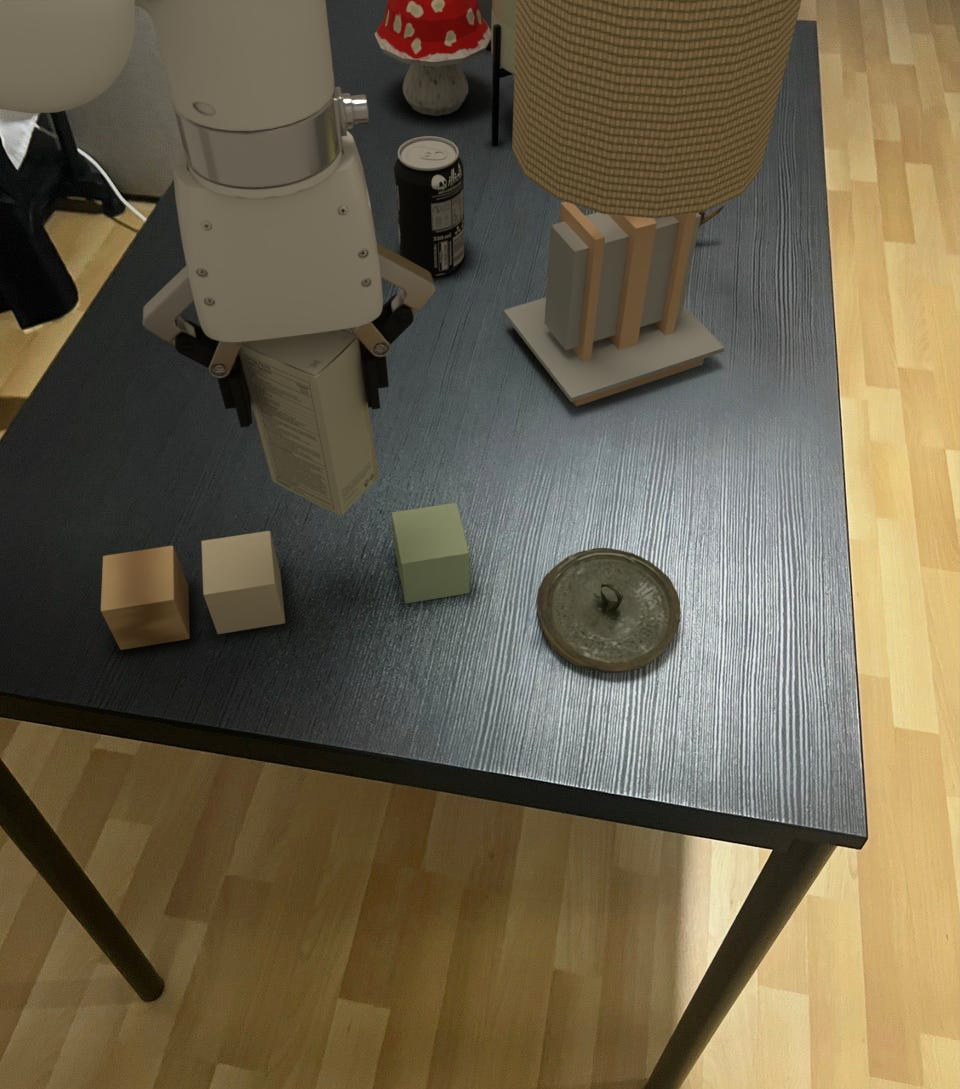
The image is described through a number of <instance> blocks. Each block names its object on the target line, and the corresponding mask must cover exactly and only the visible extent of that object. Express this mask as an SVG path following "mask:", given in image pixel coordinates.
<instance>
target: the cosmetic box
mask: <svg viewBox="0 0 960 1089" xmlns="http://www.w3.org/2000/svg"><path fill="white" fill-rule="evenodd" d="M238 354H239V357H240V360H241V365H242V368H243V372H244V376H245V380H246V384H247V388H248V391H249V395H250V400H251V408H252V410H253V415H254V417H255V421H256V426H257V430H258V433H259V436H260V441H261V444H262V448H263V451H264V456H265V460H266V463H267V466H268V470H269V474H270V477H271V481H272V482H273V483H274V484H276V485H278V486H280V487H282V488H283V489H285V490H287V491H290V492H291V493H293V494H295V495H297V496H298V497H301V498H303V499H305V500H307V501H309V502H310V503H313V504H315V505H316V506H319V507H321V508H323V509H325V510H327V511H329V512H332V513H334V514H335V515H337V516H340V517H341V516H343V515H345V514H346V512H347V511H349V509H350V508H351V507H352V506H353V505H354V504H355V503H357V501H358V500H359V499H360V498H361V497H362V496H363V494H365V492H366V491H367V490H368V489H370V487H371V486H372V485H373V484H374V482H375V481H377V479H378V477H379V473H378V472H379V471H378V465H377V458H376V451H375V444H374V437H373V430H372V423H371V416H370V408H368V403H367V396H366V388H365V380H364V373H363V366H362V359H361V353H360V346H359V339H358V337H357V336H356V335H355V334H354V333H353V332H352V331H349V330H347V329H341V330H334V331H327V332H320V333H312V334H305V335H297V336H289V337H281V338H273V339H264V340H255V341H246V342H243V343H242V345H241V348H240V350H239V352H238Z"/></svg>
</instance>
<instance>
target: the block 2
mask: <svg viewBox="0 0 960 1089" xmlns="http://www.w3.org/2000/svg"><path fill="white" fill-rule="evenodd" d="M200 543H201V568H202V571H201V572H202V591H203V592H202V593H203V594H202V596H203V598H204V601H205V603H206V606H207V609H208V612H209V615H210V617H211V620H212V622H213V626H214V628H215V631H216V634H217V635H222V634H228V633H236V632H240V631H246V630H253V629H260V628H265V627H271V626H277V625H278V626H279V625H283V624H286V616H285V608H284V606H285V604H284V596H283V586H282V584H283V583H282V577H281V576H282V574H281V568H280V565H279V561H278V558H277V556H278V555H277V553H276V549H275V545H274V541H273V537H272V533H271V530H265V531H258V532H251V533H245V534H239V535H238V534H237V535H232V536H225V537H218V538H212V539H205V540H201V542H200Z"/></svg>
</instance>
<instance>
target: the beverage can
mask: <svg viewBox="0 0 960 1089" xmlns="http://www.w3.org/2000/svg"><path fill="white" fill-rule="evenodd" d="M459 154H460V152H459V148H458V146H457V144H455V143H454V142H453V141H452V140H449V139H447V138H444V137H440V136H433V135H432V136H431V135H427V136H425V135H424V136H418V137H413V138H411V139H409V140H407V141H405V142H403V143H402V144H401V145H400V146H399V148H398V150H397V159H396V160H395V162H394V166H393V170H394V171H393V172H394V186H395V187H394V188H395V196H396V197H395V200H396V214H397V216H396V217H397V229H398V244H399V255H400V256H402V257H404V258H406V259H407V260H409V261H411V262H413V263H415V264H416V265H418V266H420V267H422V268H424V269H425V270H427V271H429V272H430V273H431V275H432V277H439V276H443V275H447V274H449V273H451V272H453V271H455V269H457V267H458V266H459V265H460V264H461V263H462V262H463V260H464V257H465V194H464V193H465V191H464V190H465V187H464V186H465V185H464V184H465V182H464V178H465V177H464V164H463V160H462V159H461V158H460V156H459Z"/></svg>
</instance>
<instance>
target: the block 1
mask: <svg viewBox="0 0 960 1089" xmlns="http://www.w3.org/2000/svg"><path fill="white" fill-rule="evenodd" d="M101 570H102V571H101V591H100V592H101V594H100V595H101V596H100V613H101V614H102V616H103V618H104V620H105V623H106V624H107V626H108V628H109V630H110V632H111V635H113V638H114V640H115V642H116V644H117V646H118V647H119V650H120V651H123V650H130V649H137V648H142V647H148V646H154V645H161V644H166V643H172V642H178V641H185V640H189V639H191V638H190V637H191V636H190V635H191V634H190V631H191V630H190V597H189V596H190V595H189V591H190V590H189V584H188V581H187V579H186V575H185V573H184V571H183V568H182V565H181V562H180V560H179V557H178V554H177V552H176V549H175V546H174V545H166V546H160V547H153V548H147V549H146V548H145V549H141V550H139V549H138V550H134V551H133V550H132V551H126V552H119V553H113V554H105V555H102V569H101Z"/></svg>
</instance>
